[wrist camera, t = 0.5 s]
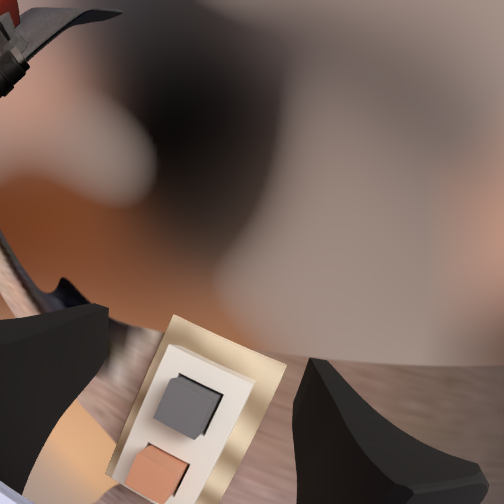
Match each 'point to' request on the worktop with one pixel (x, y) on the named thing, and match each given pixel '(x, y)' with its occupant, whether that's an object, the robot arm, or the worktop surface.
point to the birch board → (250, 418)
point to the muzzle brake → (11, 69)
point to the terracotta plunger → (155, 473)
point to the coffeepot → (10, 35)
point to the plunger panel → (191, 451)
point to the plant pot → (10, 10)
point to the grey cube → (186, 406)
